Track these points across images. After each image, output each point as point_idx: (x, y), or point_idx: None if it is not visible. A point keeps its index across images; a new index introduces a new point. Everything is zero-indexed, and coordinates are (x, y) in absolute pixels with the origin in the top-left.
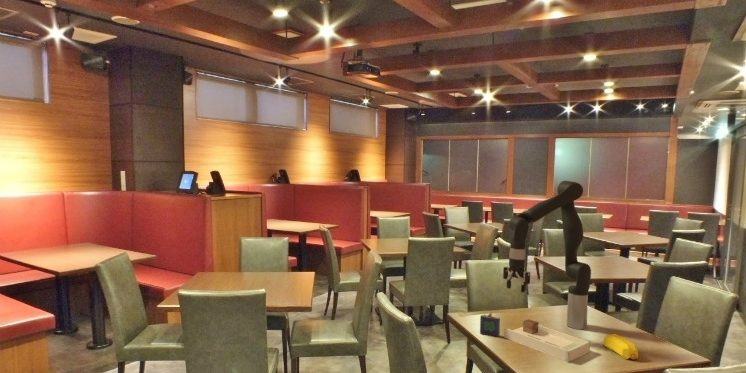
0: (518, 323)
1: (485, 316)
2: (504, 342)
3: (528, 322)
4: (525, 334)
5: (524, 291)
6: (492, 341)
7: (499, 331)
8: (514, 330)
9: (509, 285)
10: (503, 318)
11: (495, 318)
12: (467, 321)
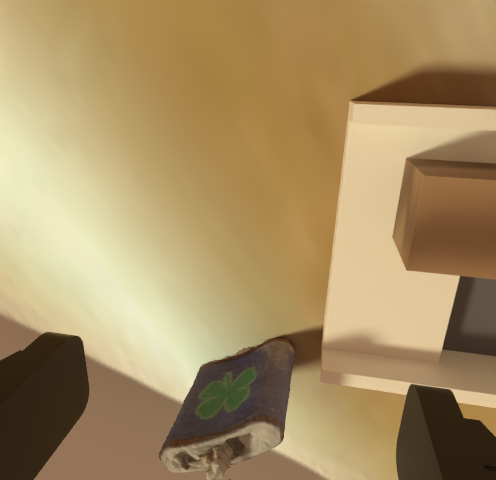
0: (234, 20)
1: (192, 456)
2: (364, 398)
3: (461, 269)
4: (438, 280)
5: (447, 400)
6: (311, 424)
7: (291, 364)
8: (341, 270)
9: (45, 421)
10: (97, 23)
11: (263, 452)
12: (37, 282)
